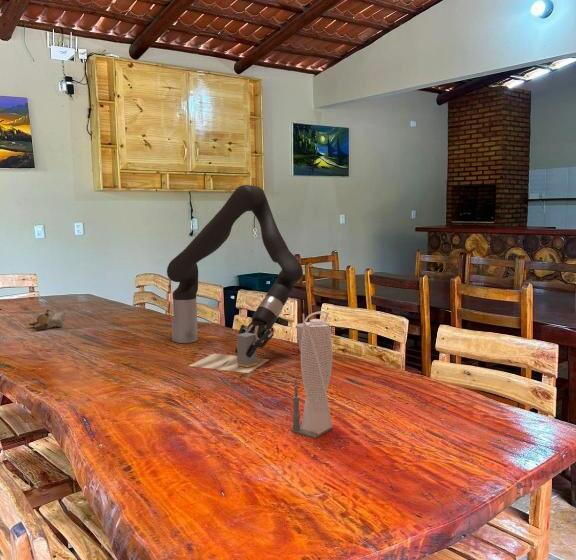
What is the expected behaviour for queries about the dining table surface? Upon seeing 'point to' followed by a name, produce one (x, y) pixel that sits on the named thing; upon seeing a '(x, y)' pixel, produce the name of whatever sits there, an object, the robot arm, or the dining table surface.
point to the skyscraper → (314, 378)
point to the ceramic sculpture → (49, 320)
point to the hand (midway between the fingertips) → (242, 354)
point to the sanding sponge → (245, 350)
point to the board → (227, 364)
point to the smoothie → (300, 333)
